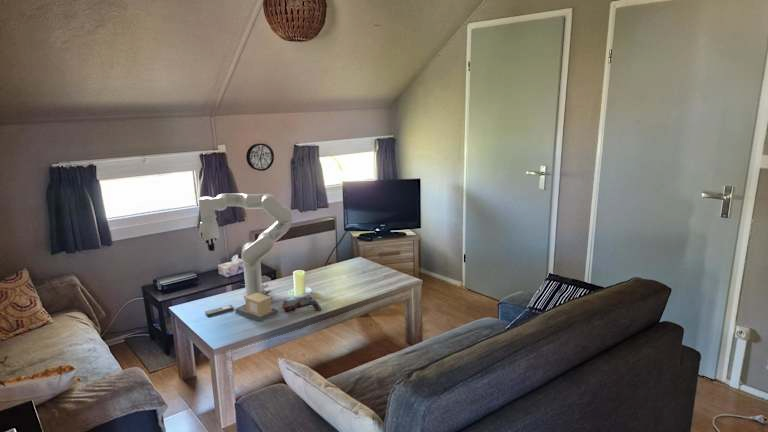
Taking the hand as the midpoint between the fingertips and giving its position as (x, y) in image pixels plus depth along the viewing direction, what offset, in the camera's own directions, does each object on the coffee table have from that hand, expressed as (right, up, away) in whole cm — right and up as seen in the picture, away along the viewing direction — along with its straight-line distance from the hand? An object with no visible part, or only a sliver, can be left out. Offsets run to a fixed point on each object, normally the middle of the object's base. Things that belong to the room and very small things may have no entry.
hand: (211, 250), depth 275 cm
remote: (+9, -33, -11) cm, 36 cm away
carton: (+27, -27, -15) cm, 41 cm away
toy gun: (+53, -32, -12) cm, 63 cm away
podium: (+29, -33, -14) cm, 46 cm away
